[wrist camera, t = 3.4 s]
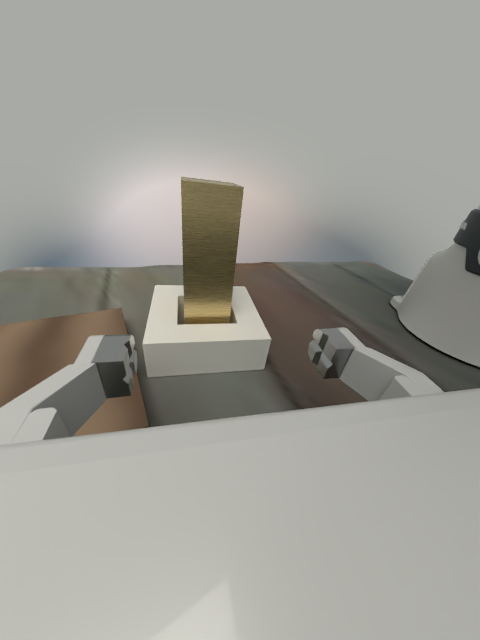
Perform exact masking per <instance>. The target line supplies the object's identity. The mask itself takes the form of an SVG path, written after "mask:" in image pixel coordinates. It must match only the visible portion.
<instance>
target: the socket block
mask: <svg viewBox="0 0 480 640" xmlns="http://www.w3.org/2000/svg"><path fill="white" fill-rule="evenodd" d="M179 324H184V286H175V285H155V289H154V294H153V298H152V303H151V307H150V312H149V317H148V321H147V326H146V330H145V335H144V339H143V344H142V345H143V351H144V358H145V365H146V371H147V377H162V376H176V375H190V374H205V373H219V372H233V371H247V370H262V369H264V368H265V364H266V359H267V355H268V351H269V347H270V342H271V338H270V336H269V334H268V332H267V330H266V328H265V326H264V324H263V322H262V320H261V318H260V316H259V314H258V312H257V310H256V308H255V306H254V304H253V302H252V300H251V298H250V296H249V294H248V292H247V290H246V288H245V287H238V286H233V293H232V303H231V313H230V322H229V324H184V325H179Z"/></svg>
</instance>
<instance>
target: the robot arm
mask: <svg viewBox="0 0 480 640" xmlns="http://www.w3.org/2000/svg"><path fill="white" fill-rule="evenodd" d="M479 209H480V206H479V207H478V209H474V210H472V211H471V212H470V214H469V215H468V217H467V218H466V220H465V221H463V223H462V224H461V226H460V229H459V231H458V233H457V234H456V236H455V238H454V242H455V244H453V245H452V246H451V247H449V248H448V249H446V250H444V251H441V252H438V253H436V254H433V255H431V256H430V257H429V259H428V260H427V262H426V263H425V264H424V266H423V267H422V269H421V271H420V272H419V274H418V275H417V277H416V278H415V280H414V281H413V283H412V284H411V286H410V287H409V289H408V290H407V292H406V294H405V295H404V296H394V297H393V298H392V299H391V301H390V303H391V305H392V306H393V307H394V308H395V309H396V310H397V312H398V317H399V319H400V321H401V322H402V324H403V325H404V326H405V327H406V328H407V329H408V330H409V331H411V332H412V333H413V334H414V335H416V336H417V337H419V338H420V339H421V340H423V341H425V342H426V343H428V344H430V345H431V346H433V347H435V348H437V349H438V350H440V351H442V352H444V353H446V354H448V355H451V356H453V357H455V358H457V359H460V360H462V361H465V362H467V363H470V364H472V365H475V366H478V367H480V210H479ZM312 336H313V339H314V340H312V341H311V342H310V344H309V347H308V355H309V358H310V359H311V361H312V362H313V363H315V364H316V365H317V368H316V369H317V370H318V372H319V373H320V375H321V376H322V378H323V379H330V378H339V379H340V380H341V381H343V382H344V383H345V384H347V385H348V386H349V387H351V388H352V389H353V390H355V391H356V392H357V393H359V394H360V395H361V396H363V397H364V398H365V399H367V400H368V401H367V402H359V403H351V404H342V405H334V406H325V407H317V408H308V409H300V410H291V411H283V412H274V413H266V414H258V415H249V416H241V417H232V418H224V419H216V420H207V421H199V422H190V423H182V424H173V425H165V426H157V427H148V428H140V429H131V430H123V431H115V432H106V433H98V434H89V435H81V436H73V435H74V434H75V433H76V432H77V431H78V430H79V429H80V428H81V427H82V426H83V425H84V424H85V423H86V421H87V420H88V419H89V418H90V417H91V416H92V415H93V414H94V413H95V412H96V411H97V410H98V409H99V408H100V407H101V406H102V404H103V403H104V402H105V401H106V400H107V398H116V397H125V396H131V394H132V389H133V385H134V379H133V376H134V375H135V374H136V371H137V362H138V361H137V352H136V351H135V350H134V345H135V341H134V336H133V335H91V336H89V337H88V339H87V340H86V342H85V344H84V346H83V348H82V350H81V351H80V353H79V355H78V357H77V359H76V361H75V363H74V364H71V365H68V366H66V367H64V368H63V369H61V370H60V371H58V372H56V373H55V374H53V375H52V376H50V377H49V378H47V379H45V380H44V381H42V382H41V383H39V384H37V385H36V386H34V387H33V388H31V389H29V390H28V391H26V392H25V393H23V394H21V395H20V396H18V397H17V398H15V399H14V400H12V401H10V402H9V403H7V404H6V405H4V406H2V407H1V408H0V640H480V388H477V389H468V390H460V391H451V392H444V391H442V390H441V389H440V388H439V387H438V386H437V385H436V384H434V383H433V382H432V381H431V380H430V379H429V378H428V377H427V376H425V375H424V374H423V373H422V372H419V371H417V370H415V369H413V368H411V367H409V366H407V365H405V364H403V363H400V362H398V361H396V360H394V359H392V358H390V357H388V356H386V355H384V354H381V353H379V352H377V351H375V350H373V349H371V348H366V347H365V346H364V345H363V344H362V343H361V342H360V341H359V340H358V339H357V338H356V337H355V336H354V335H353V334H352V333H351V332H350V331H349V330H348V329H347V328H345V327H341V328H328V329H316V330H315V331H314V332H313V335H312Z"/></svg>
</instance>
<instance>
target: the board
mask: <svg viewBox="0 0 480 640" xmlns="http://www.w3.org/2000/svg"><path fill="white" fill-rule="evenodd" d="M91 335H128V334H127V330H126V326H125V321H124V317H123V313H122V309H121V308H118V309H111V310H103V311H96V312H89V313H82V314H75V315H68V316H61V317H53V318H46V319H39V320H32V321H25V322H18V323H11V324H3V325H0V408H1V407H2V406H4V405H6V404H7V403H9V402H10V401H12V400H14V399H15V398H17V397H18V396H20V395H21V394H23V393H25V392H26V391H28V390H29V389H31V388H33V387H34V386H36V385H37V384H39V383H41V382H42V381H44V380H45V379H47V378H49V377H50V376H52V375H53V374H55V373H56V372H58V371H60V370H61V369H63V368H64V367H66V366H68V365H71V364H74V363H75V361H76V359H77V357H78V355H79V353H80V351H81V350H82V348H83V346H84V344H85V342H86V340H87V339H88V337H89V336H91ZM133 379H134V385H133V389H132V394H131V396H125V397H116V398H107V400H106V401H105V402H104V403H103V404H102V406H101V407H100V408H99V409H98V410H97V411H96V412H95V413H94V414H93V415H92V416H91V417H90V418H89V419H88V420H87V421H86V423H85V424H84V425H83V426H82V427H81V428H80V429H79V430H78V431H77V432H76V433H75V434H74V435H73V436H81V435H89V434H98V433H106V432H115V431H123V430H131V429H140V428H148V427H149V424H148V419H147V415H146V411H145V407H144V402H143V398H142V394H141V389H140V385H139V381H138V377H137V372H136V374H135V375H134V376H133Z"/></svg>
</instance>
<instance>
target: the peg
mask: <svg viewBox="0 0 480 640" xmlns="http://www.w3.org/2000/svg"><path fill="white" fill-rule="evenodd" d="M181 195H182V236H183V237H182V238H183V239H182V240H183V284H184V324H229V322H230V313H231V303H232V293H233V284H234V274H235V265H236V254H237V246H238V236H239V227H240V217H241V208H242V197H243V187H241V186H239V185H236V184H234V183H229V182H221V181H212V180H204V179H195V178H186V177H181Z"/></svg>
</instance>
